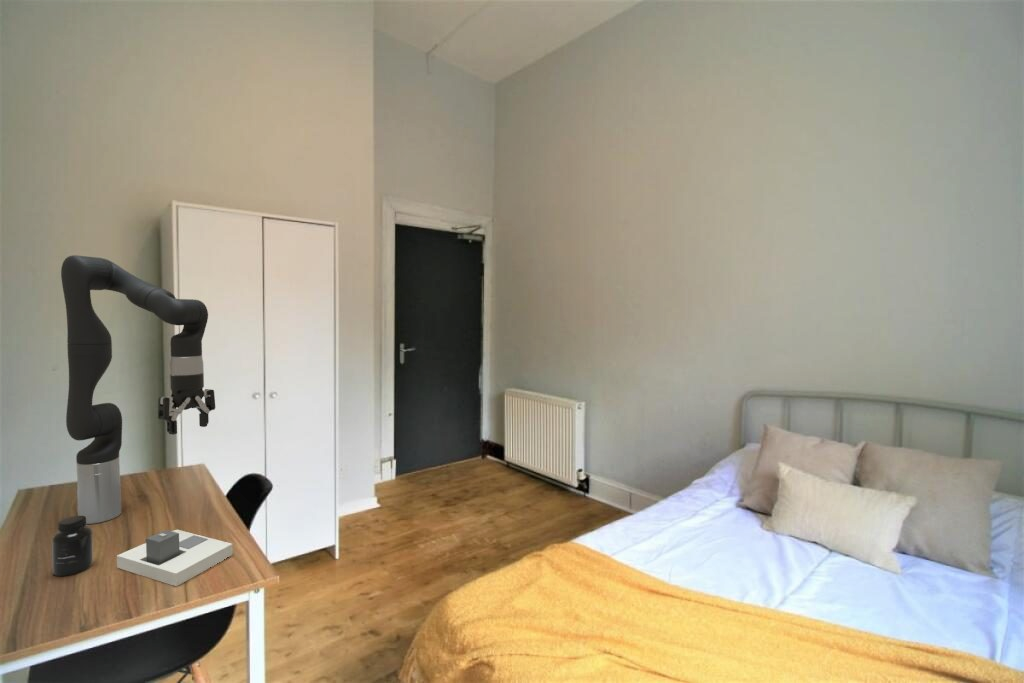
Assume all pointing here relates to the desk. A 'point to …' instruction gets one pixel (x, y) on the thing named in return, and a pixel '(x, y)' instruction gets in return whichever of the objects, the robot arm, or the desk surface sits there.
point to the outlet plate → (178, 559)
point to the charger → (162, 547)
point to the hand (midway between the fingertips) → (188, 430)
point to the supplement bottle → (72, 546)
